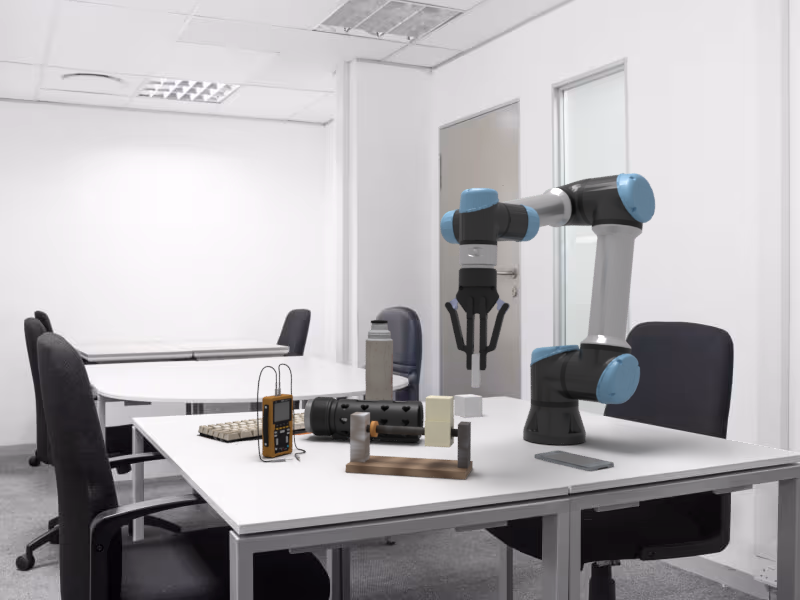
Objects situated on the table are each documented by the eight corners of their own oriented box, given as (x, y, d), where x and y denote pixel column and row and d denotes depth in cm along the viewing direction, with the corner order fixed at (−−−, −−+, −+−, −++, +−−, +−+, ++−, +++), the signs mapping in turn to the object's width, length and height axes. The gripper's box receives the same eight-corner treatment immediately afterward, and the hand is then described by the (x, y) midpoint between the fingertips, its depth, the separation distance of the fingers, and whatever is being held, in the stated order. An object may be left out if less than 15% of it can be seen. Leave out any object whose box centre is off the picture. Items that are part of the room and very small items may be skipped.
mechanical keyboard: (233, 448, 183) (233, 433, 183) (192, 437, 196) (192, 424, 196) (355, 430, 209) (355, 417, 209) (311, 421, 223) (311, 410, 223)
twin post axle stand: (472, 468, 160) (472, 414, 160) (465, 479, 150) (465, 422, 150) (359, 461, 166) (360, 409, 166) (345, 472, 156) (346, 417, 156)
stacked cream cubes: (453, 442, 158) (454, 396, 158) (449, 447, 154) (450, 399, 154) (429, 441, 160) (429, 395, 160) (424, 446, 155) (424, 398, 155)
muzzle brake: (416, 447, 183) (417, 402, 183) (302, 441, 189) (302, 399, 188) (423, 439, 192) (424, 397, 192) (314, 434, 198) (314, 394, 198)
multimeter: (286, 465, 161) (286, 369, 161) (249, 460, 167) (250, 366, 167) (329, 453, 174) (329, 363, 174) (294, 448, 179) (294, 361, 179)
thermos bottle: (392, 414, 232) (393, 319, 232) (392, 418, 224) (392, 320, 224) (365, 414, 232) (366, 319, 232) (364, 418, 224) (365, 320, 224)
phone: (589, 474, 158) (589, 467, 158) (532, 460, 171) (532, 454, 171) (615, 469, 163) (615, 462, 163) (558, 455, 176) (558, 450, 176)
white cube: (454, 415, 231) (454, 395, 231) (471, 414, 234) (471, 394, 234) (464, 418, 226) (464, 397, 226) (482, 416, 228) (482, 396, 228)
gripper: (441, 266, 152) (440, 387, 152) (509, 266, 149) (507, 390, 149) (448, 268, 160) (446, 383, 160) (512, 268, 157) (511, 386, 157)
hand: (476, 386), depth 155 cm, fingers closed
